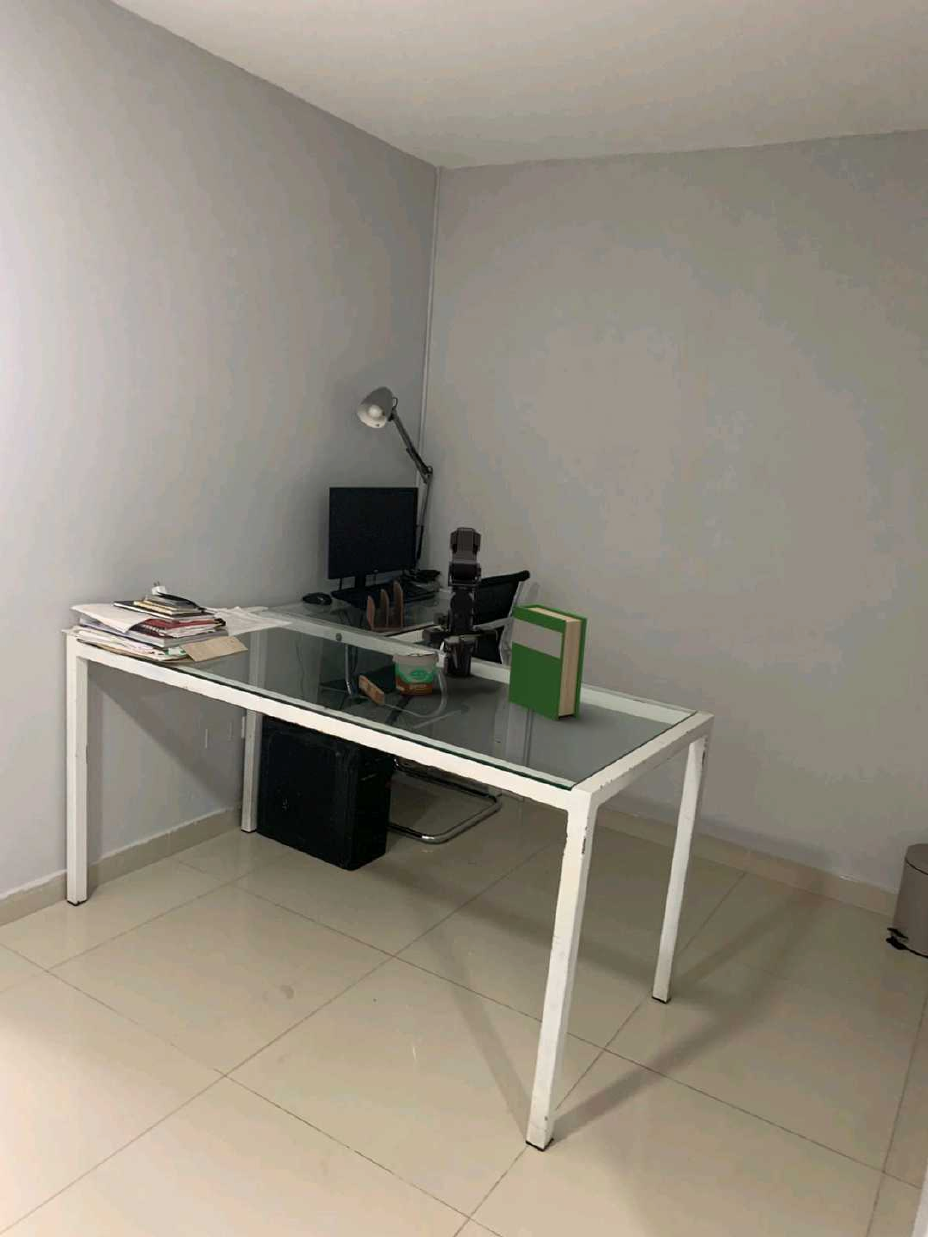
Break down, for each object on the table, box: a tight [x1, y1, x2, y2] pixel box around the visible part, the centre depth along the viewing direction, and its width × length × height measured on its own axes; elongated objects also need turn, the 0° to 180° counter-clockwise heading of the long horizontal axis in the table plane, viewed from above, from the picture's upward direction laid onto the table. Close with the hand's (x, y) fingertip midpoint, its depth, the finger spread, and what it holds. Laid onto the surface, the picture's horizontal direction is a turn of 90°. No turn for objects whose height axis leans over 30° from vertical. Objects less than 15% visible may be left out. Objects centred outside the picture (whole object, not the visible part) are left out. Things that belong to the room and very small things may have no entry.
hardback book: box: [507, 603, 588, 722], centre depth 224 cm, size 18×7×24 cm, turn 36°
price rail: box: [358, 675, 386, 707], centre depth 227 cm, size 1×16×3 cm, turn 25°
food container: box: [391, 649, 440, 696], centre depth 232 cm, size 12×6×10 cm, turn 117°
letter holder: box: [366, 580, 404, 632], centre depth 306 cm, size 10×20×14 cm, turn 11°
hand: (458, 667), depth 236 cm, fingers closed
